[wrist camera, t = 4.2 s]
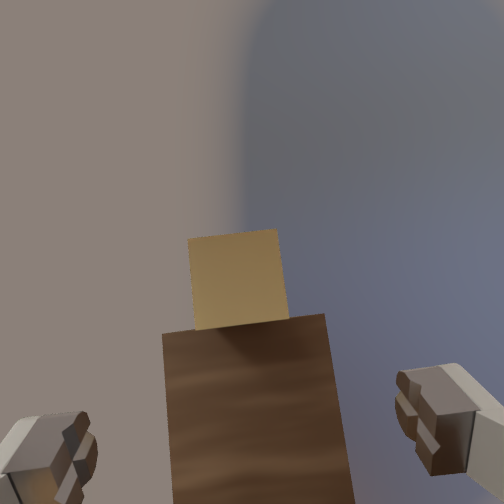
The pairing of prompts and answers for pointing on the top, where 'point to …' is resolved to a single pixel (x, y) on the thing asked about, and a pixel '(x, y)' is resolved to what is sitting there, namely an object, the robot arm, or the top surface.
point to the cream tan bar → (237, 279)
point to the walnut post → (255, 415)
